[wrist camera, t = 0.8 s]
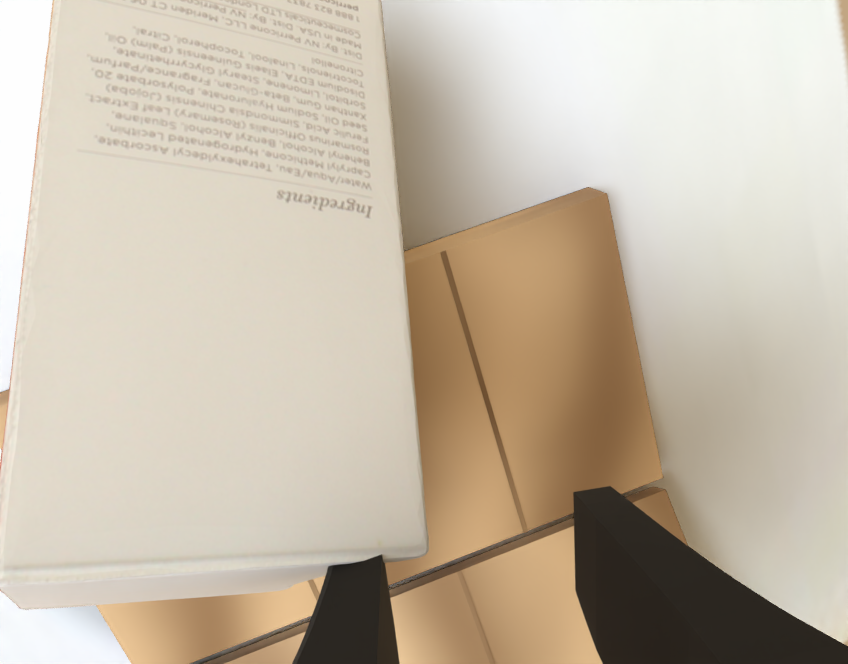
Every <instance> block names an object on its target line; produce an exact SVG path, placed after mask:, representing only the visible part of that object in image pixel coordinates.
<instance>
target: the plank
mask: <svg viewBox="0 0 848 664" xmlns="http://www.w3.org/2000/svg"><path fill="white" fill-rule="evenodd" d="M625 498H627V499H628V500H629V501H630V502H632V503H633V504H634V505H635V506H637V507H638V508H639V509H641V510H642V511H643V512H644V513H646V514H647V515H648V516H649V517H651V518H652V519H653V520H655V521H656V522H657V523H658V524H660V525H661V526H662V527H664V528H665V529H666V530H668V531H669V532H670V533H671V534H673V535H674V536H675V537H677V538H678V539H679V540H681V541H682V542H683V543H685V544H686V545H687V542H686V540H685V537H684V535H683V532H682V530H681V527H680V525H679V522H678V520H677V517H676V515H675V512H674V509H673V507H672V504H671V502H670V499H669V497H668V494H667V492H666V490H665V489H661V488H656V487H651V488H648V489H646V490H643V491H641V492H638V493H636V494H633V495H630V496H628V497H625ZM687 546H688V545H687ZM389 592H390V599H391V605H392V612H393V618H394V625H395V632H396V640H397V647H398V655H399V663H400V664H603V663H602V661H601V659H600V657H599V655H598V652H597V650H596V648H595V645H594V642H593V639H592V637H591V634H590V631H589V629H588V626H587V623H586V620H585V617H584V614H583V611H582V609H581V606H580V603H579V600H578V597H577V594H576V591H575V547H574V518H572V519H569V520H567V521H564V522H562V523H559V524H557V525H554V526H552V527H549V528H547V529H544V530H541V531H539V532H536V533H534V534H531V535H529V536H526V537H524V538H521V539H519V540H516V541H513V542H511V543H508V544H506V545H503V546H501V547H498V548H496V549H493V550H491V551H488V552H485V553H483V554H480V555H478V556H475V557H473V558H470V559H468V560H465V561H463V562H460V563H457V564H455V565H452V566H450V567H447V568H445V569H442V570H440V571H437V572H435V573H432V574H429V575H427V576H424V577H422V578H419V579H417V580H414V581H412V582H409V583H407V584H404V585H401V586H399V587H396V588H394V589H391V590H389ZM308 625H309V622H307V623H305V624H302V625H300V626H297V627H295V628H292V629H290V630H287V631H284V632H282V633H279V634H277V635H274V636H272V637H269V638H267V639H264V640H262V641H259V642H256V643H254V644H251V645H249V646H246V647H244V648H241V649H239V650H236V651H234V652H231V653H228V654H226V655H223V656H221V657H218V658H216V659H213V660H211V661H208V662H206V663H203V664H292V663H293V660H294V658H295V656H296V654H297V652H298V649H299V647H300V645H301V643H302V640H303V638H304V635H305V633H306V630H307V627H308Z"/></svg>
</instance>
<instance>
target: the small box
mask: <svg viewBox="0 0 848 664" xmlns="http://www.w3.org/2000/svg"><path fill="white" fill-rule="evenodd" d="M428 551H429V535H428V527H427V520H426V510H425V498H424V485H423V472H422V462H421V451H420V440H419V428H418V417H417V406H416V395H415V383H414V370H413V355H412V346H411V332H410V319H409V308H408V296H407V285H406V276H405V259H404V248H403V236H402V223H401V215H400V203H399V190H398V181H397V169H396V158H395V148H394V133H393V122H392V110H391V97H390V87H389V78H388V69H387V58H386V47H385V35H384V24H383V13H382V5H381V0H53V4H52V13H51V22H50V31H49V43H48V50H47V56H46V65H45V74H44V83H43V93H42V102H41V111H40V118H39V126H38V134H37V144H36V153H35V163H34V172H33V181H32V190H31V199H30V207H29V216H28V225H27V234H26V243H25V251H24V260H23V270H22V279H21V288H20V297H19V306H18V315H17V324H16V333H15V342H14V351H13V360H12V369H11V378H10V387H9V396H8V405H7V413H6V421H5V429H4V438H3V446H2V454H1V462H0V591H1V592H3V593H4V594H5V595H6V596H7V597H9V599H11V600H12V601H13V602H14V603H15V604H16V605H17V606H18V607H19V608H20V609H25V610H29V609H47V608H65V607H78V606H91V605H104V604H117V603H131V602H144V601H157V600H172V599H186V598H200V597H212V596H225V595H238V594H251V593H263V592H273V591H281V590H286V589H288V588H290V587H292V586H293V585H294V584H298V583H301V582H304V581H308V580H311V579H315V578H319V577H323V576H326V573H327V569H328V566H332V565H339V564H350V563H355V562H360V561H365V560H367V559H370V558H373V557H376V556H378V555H381V554H382V557H383V562H384V563H388V562H399V561H405V560H411V559H416V558H420V557H422V556H424V555H426V554H427V553H428Z"/></svg>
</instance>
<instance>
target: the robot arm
mask: <svg viewBox="0 0 848 664" xmlns="http://www.w3.org/2000/svg"><path fill="white" fill-rule="evenodd" d="M573 500H574V547H575V591H576V594H577V597H578V600H579V603H580V606H581V609H582V611H583V614H584V617H585V620H586V623H587V626H588V629H589V631H590V634H591V637H592V639H593V642H594V645H595V648H596V650H597V652H598V655H599V657H600V659H601V661H602V663H603V664H848V646H846V645H844V644H842V643H841V642H839V641H837V640H835V639H833V638H832V637H830V636H828V635H826V634H824V633H823V632H821V631H819V630H817V629H815V628H814V627H812V626H810V625H808V624H806V623H805V622H803V621H801V620H799V619H797V618H796V617H794V616H792V615H791V614H789V613H787V612H786V611H784V610H782V609H781V608H779V607H777V606H776V605H774V604H772V603H771V602H769V601H768V600H766V599H765V598H763V597H762V596H760V595H758V594H757V593H755V592H754V591H752V590H751V589H749V588H748V587H746V586H745V585H743V584H741V583H740V582H738V581H737V580H735V579H734V578H732V577H731V576H729V575H728V574H726V573H725V572H724V571H722V570H721V569H719V568H718V567H716V566H715V565H714V564H712V563H711V562H709V561H708V560H707V559H705V558H704V557H702V556H701V555H700V554H698V553H697V552H696V551H694V550H693V549H691V548H690V547H689V546H687V545H686V544H685V543H683V542H682V541H681V540H679V539H678V538H677V537H675V536H674V535H673V534H671V533H670V532H669V531H668V530H666V529H665V528H664V527H662V526H661V525H660V524H658V523H657V522H656V521H655V520H653V519H652V518H651V517H649V516H648V515H647V514H646V513H644V512H643V511H642V510H641V509H639V508H638V507H637V506H635V505H634V504H633V503H632V502H630V501H629V500H628V499H627V498H625V497H624V496H623V495H621V494H620V493H619V492H617V491H616V490H615V489H614V488H612V487H611V486H607V487H601V488H595V489H589V490H583V491H577V492H573ZM292 664H400V663H399V655H398V647H397V640H396V632H395V625H394V618H393V612H392V605H391V599H390V592H389V586H388V580H387V573H386V567H385V563H384V562H383V557H382V554H381V555H378V556H376V557H373V558H370V559H367V560H365V561H360V562H355V563H350V564H339V565H332V566H328V569H327V573H326V576H325V579H324V583H323V586H322V589H321V592H320V595H319V598H318V601H317V603H316V606H315V609H314V611H313V614H312V617H311V619H310V622H309V625H308V627H307V630H306V633H305V635H304V638H303V640H302V643H301V645H300V647H299V649H298V652H297V654H296V656H295V658H294V660H293V663H292Z"/></svg>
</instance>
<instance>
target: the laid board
mask: <svg viewBox="0 0 848 664" xmlns="http://www.w3.org/2000/svg"><path fill="white" fill-rule="evenodd" d="M404 259H405V276H406V285H407V296H408V308H409V319H410V332H411V346H412V355H413V370H414V383H415V395H416V406H417V417H418V428H419V440H420V451H421V462H422V472H423V485H424V498H425V510H426V520H427V527H428V535H429V551H428V553H427V554H426V555H424V556H422V557H420V558H416V559H411V560H405V561H399V562H388V563H385V567H386V573H387V580H388V586H389V585H391V584H394V583H396V582H399V581H401V580H404V579H406V578H409V577H411V576H414V575H417V574H419V573H422V572H424V571H427V570H429V569H432V568H434V567H437V566H439V565H442V564H445V563H447V562H450V561H452V560H455V559H457V558H460V557H462V556H465V555H468V554H470V553H473V552H475V551H478V550H480V549H483V548H485V547H488V546H490V545H493V544H496V543H498V542H501V541H503V540H506V539H508V538H511V537H513V536H516V535H519V534H521V533H525V532H528V531H529V530H531V529H534V528H536V527H539V526H541V525H544V524H547V523H549V522H552V521H554V520H557V519H559V518H562V517H564V516H567V515H569V514H572V513H574V500H573V492H577V491H583V490H589V489H595V488H601V487H607V486H611V487H612V488H614V489H615V490H616V491H617V492H619V493H620V494H623V493H626V492H628V491H631V490H633V489H636V488H638V487H641V486H643V485H646V484H648V483H651V482H654V481H656V480H659V479H661V478H663V474H662V469H661V464H660V459H659V454H658V449H657V444H656V439H655V434H654V428H653V423H652V418H651V413H650V408H649V403H648V398H647V393H646V388H645V383H644V378H643V373H642V368H641V363H640V358H639V353H638V348H637V343H636V337H635V332H634V327H633V322H632V317H631V312H630V307H629V302H628V297H627V292H626V287H625V282H624V277H623V272H622V267H621V262H620V257H619V252H618V246H617V241H616V236H615V231H614V226H613V221H612V216H611V211H610V206H609V201H608V196H607V193H604V192H601V191H598V190H595V189H592V188H589V187H587V188H584V189H582V190H579V191H576V192H573V193H570V194H567V195H564V196H562V197H559V198H556V199H553V200H550V201H547V202H544V203H541V204H539V205H536V206H533V207H530V208H527V209H524V210H521V211H519V212H516V213H513V214H510V215H507V216H504V217H501V218H499V219H496V220H493V221H490V222H487V223H484V224H481V225H478V226H476V227H473V228H470V229H467V230H464V231H461V232H458V233H456V234H453V235H450V236H447V237H444V238H441V239H438V240H436V241H433V242H430V243H427V244H424V245H421V246H418V247H416V248H413V249H410V250H407V251H404ZM8 396H9V390H6V391H3V392H0V448H1V450H2V446H3V438H4V429H5V421H6V413H7V405H8ZM324 579H325V576H323V577H319V578H315V579H311V580H308V581H304V582H301V583H298V584H294V585H293V586H292V587H290V588H288V589H286V590H281V591H273V592H263V593H251V594H238V595H225V596H212V597H200V598H186V599H172V600H157V601H144V602H131V603H117V604H104V605H96V606H97V608H98V609H99V611H100V613H101V614H102V616H103V618H104V619H105V621H106V622H107V624H108V626H109V627H110V629H111V631H112V632H113V634H114V636H115V637H116V639H117V641H118V642H119V644H120V645H121V647H122V649H123V650H124V652H125V654H126V655H127V657H128V659H129V660H130V662H131V664H190V663H192V662H195V661H197V660H200V659H202V658H205V657H208V656H210V655H213V654H215V653H218V652H220V651H223V650H225V649H228V648H231V647H233V646H236V645H238V644H241V643H243V642H246V641H248V640H251V639H253V638H256V637H259V636H261V635H264V634H266V633H269V632H271V631H274V630H276V629H279V628H281V627H284V626H287V625H289V624H292V623H294V622H297V621H299V620H302V619H304V618H307V617H310V616H312V614H313V611H314V609H315V606H316V603H317V601H318V598H319V595H320V592H321V589H322V586H323V583H324Z"/></svg>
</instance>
